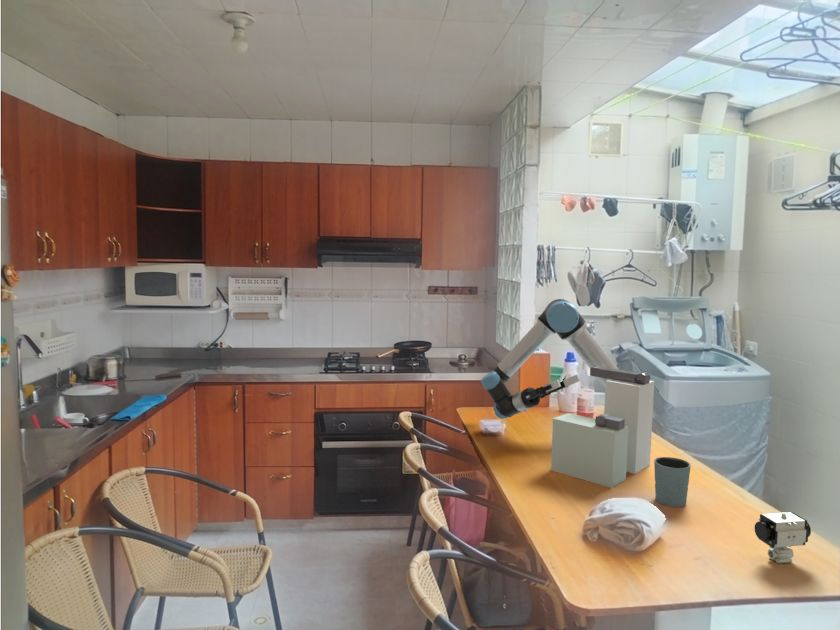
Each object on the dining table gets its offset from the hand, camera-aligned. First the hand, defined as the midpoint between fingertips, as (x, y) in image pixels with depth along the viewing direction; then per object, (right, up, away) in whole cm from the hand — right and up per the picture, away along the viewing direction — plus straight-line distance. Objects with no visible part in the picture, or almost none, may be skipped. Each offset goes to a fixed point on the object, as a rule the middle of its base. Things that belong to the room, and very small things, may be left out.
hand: (568, 380), depth 222 cm
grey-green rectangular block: (+1, -29, -23) cm, 37 cm away
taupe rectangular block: (+17, -28, -13) cm, 35 cm away
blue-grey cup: (+20, -32, -43) cm, 57 cm away
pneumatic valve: (+32, -36, -77) cm, 91 cm away
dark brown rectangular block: (+14, +2, -14) cm, 20 cm away
